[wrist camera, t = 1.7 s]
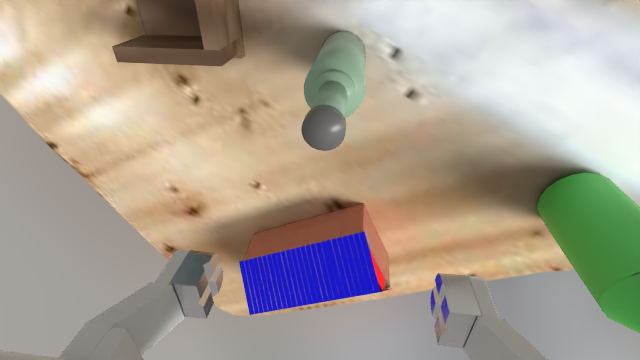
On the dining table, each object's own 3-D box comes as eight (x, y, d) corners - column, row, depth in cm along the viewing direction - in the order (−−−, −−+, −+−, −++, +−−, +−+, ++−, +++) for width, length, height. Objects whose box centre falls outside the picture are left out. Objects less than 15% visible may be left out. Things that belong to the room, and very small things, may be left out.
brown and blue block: (252, 231, 55) (227, 289, 45) (364, 200, 48) (363, 260, 39) (285, 276, 61) (269, 337, 51) (390, 254, 54) (395, 319, 44)
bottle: (521, 194, 44) (652, 400, 24) (591, 156, 40) (823, 367, 20) (554, 231, 47) (697, 444, 26) (622, 199, 43) (855, 423, 22)
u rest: (125, -61, 33) (74, -64, 27) (230, -61, 32) (200, -64, 26) (156, 52, 39) (119, 69, 34) (244, 56, 38) (222, 73, 33)
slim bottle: (321, 30, 36) (282, 91, 20) (367, 31, 35) (365, 95, 19) (321, 76, 39) (286, 162, 23) (363, 78, 38) (359, 167, 22)
